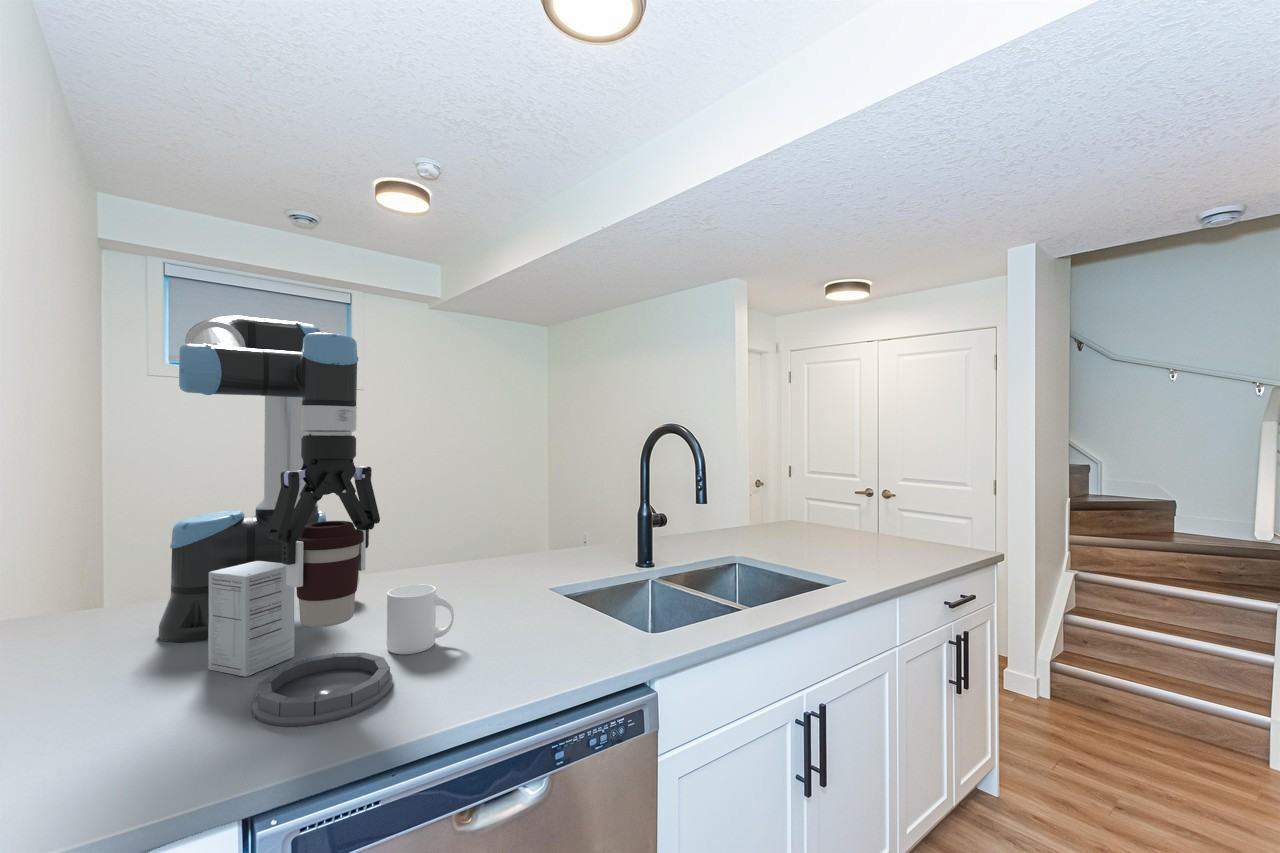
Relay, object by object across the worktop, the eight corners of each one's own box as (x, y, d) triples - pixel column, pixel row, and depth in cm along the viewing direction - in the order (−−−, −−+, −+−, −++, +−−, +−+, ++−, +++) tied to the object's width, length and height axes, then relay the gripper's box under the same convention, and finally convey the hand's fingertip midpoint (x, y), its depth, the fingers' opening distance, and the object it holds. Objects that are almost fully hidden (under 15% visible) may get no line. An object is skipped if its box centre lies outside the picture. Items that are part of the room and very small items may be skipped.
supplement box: (296, 657, 103) (297, 563, 103) (246, 678, 94) (247, 576, 94) (257, 649, 106) (258, 559, 106) (205, 669, 97) (206, 570, 97)
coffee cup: (309, 610, 93) (310, 518, 93) (372, 609, 94) (373, 518, 94) (276, 632, 83) (277, 529, 83) (346, 631, 84) (348, 529, 84)
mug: (450, 653, 106) (451, 595, 105) (381, 657, 103) (381, 597, 103) (456, 636, 114) (457, 582, 114) (392, 639, 112) (393, 584, 112)
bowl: (223, 707, 84) (223, 687, 84) (339, 660, 101) (339, 643, 101) (308, 739, 76) (308, 716, 76) (418, 682, 93) (418, 664, 93)
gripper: (271, 434, 77) (269, 599, 77) (404, 433, 97) (403, 564, 97) (237, 434, 80) (235, 592, 80) (373, 433, 101) (372, 559, 100)
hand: (327, 577), depth 89 cm, fingers closed on coffee cup, 10 cm apart
